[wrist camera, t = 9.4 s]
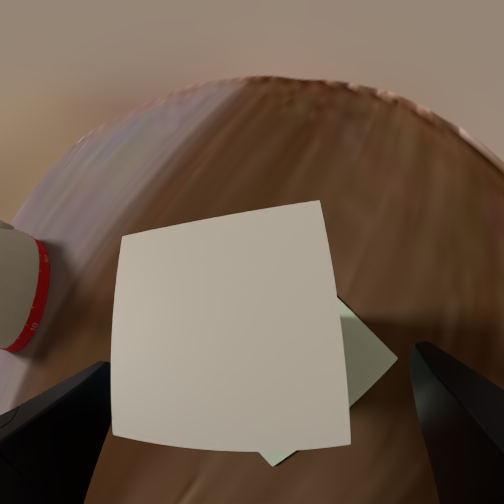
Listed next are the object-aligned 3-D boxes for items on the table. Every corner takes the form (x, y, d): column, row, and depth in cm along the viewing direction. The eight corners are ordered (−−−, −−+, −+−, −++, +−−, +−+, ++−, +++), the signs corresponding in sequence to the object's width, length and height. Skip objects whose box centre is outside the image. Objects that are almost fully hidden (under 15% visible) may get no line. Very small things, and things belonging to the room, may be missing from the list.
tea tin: (329, 396, 15) (350, 444, 4) (243, 403, 16) (113, 434, 5) (321, 313, 17) (319, 200, 6) (239, 322, 18) (122, 236, 7)
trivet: (397, 358, 15) (398, 358, 15) (272, 465, 14) (272, 466, 14) (289, 252, 19) (289, 251, 19) (178, 349, 18) (177, 349, 18)
